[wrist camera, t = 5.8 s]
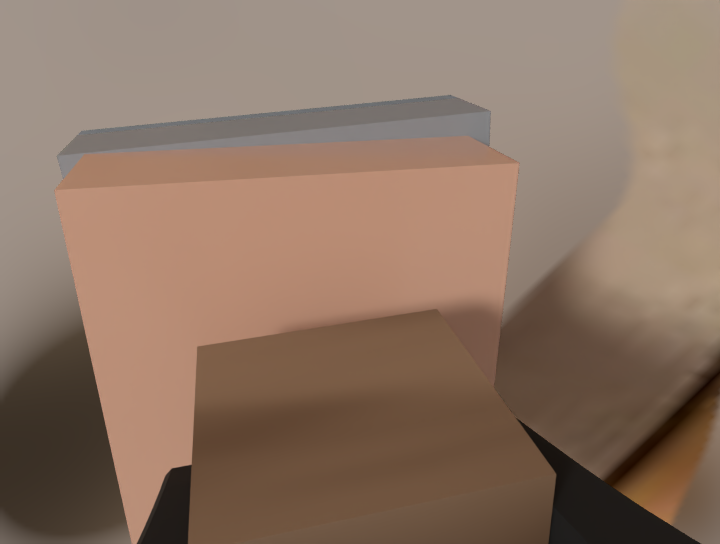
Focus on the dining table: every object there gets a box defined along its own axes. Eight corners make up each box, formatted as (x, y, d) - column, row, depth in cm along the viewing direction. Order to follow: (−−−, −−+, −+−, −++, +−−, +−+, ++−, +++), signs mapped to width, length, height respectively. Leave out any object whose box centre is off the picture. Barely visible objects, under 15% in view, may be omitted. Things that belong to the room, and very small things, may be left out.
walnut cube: (436, 485, 12) (531, 691, 8) (233, 528, 11) (241, 773, 8) (436, 308, 10) (556, 473, 7) (197, 346, 9) (186, 553, 6)
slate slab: (448, 382, 19) (479, 432, 17) (159, 436, 18) (151, 499, 15) (450, 95, 15) (490, 111, 13) (81, 130, 14) (57, 155, 12)
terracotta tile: (446, 424, 17) (482, 490, 14) (145, 469, 15) (133, 551, 13) (468, 135, 13) (519, 162, 11) (84, 154, 12) (54, 190, 9)
